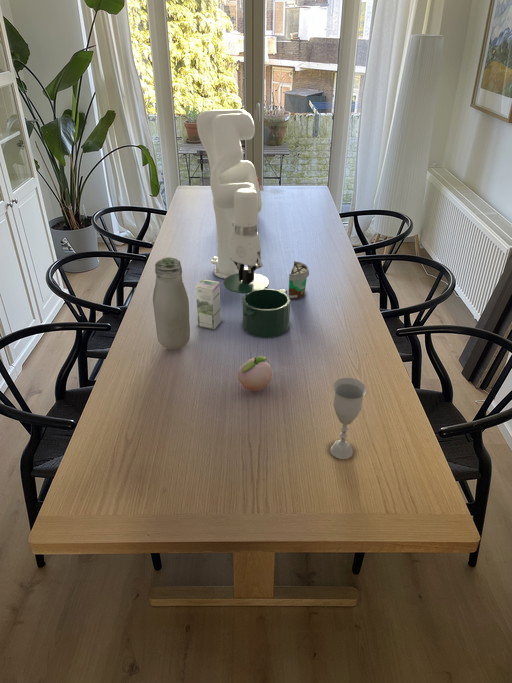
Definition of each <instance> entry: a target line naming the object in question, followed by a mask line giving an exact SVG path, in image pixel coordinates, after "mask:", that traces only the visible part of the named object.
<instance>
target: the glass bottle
mask: <svg viewBox="0 0 512 683" xmlns="http://www.w3.org/2000/svg"><path fill="white" fill-rule="evenodd" d="M182 269H183V268H182V264H181V261H180V260H179V259H177V258H176V257H172V256H171V257H170V256H166V257H162V258H160V259H158V260H157V261H156V262H155V264H154V272H155V284H154V288H153V293H152V303H153V304H152V305H153V313H154V322H155V330H156V337H157V340H158V341H157V342H158V343H159V344H160V345H161V346H162V347H163V348H164V349H166V350H173V351H174V350H179V349H182V348H184V347H186V346H187V344H188V343H189V341H190V338H191V324H190V323H191V322H190V301H189V296H188V292H187V289H186V287H185V284H184V281H183V276H182V275H183V270H182Z"/></svg>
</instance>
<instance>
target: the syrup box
mask: <svg viewBox="0 0 512 683" xmlns="http://www.w3.org/2000/svg"><path fill="white" fill-rule="evenodd" d="M220 288H221V287H220V281H217V280H210V279H201V280H199V282H198V283H197V284H196V285H195V295H196V296H195V297H196V308H197V309H196V310H197V313H196V314H197V326H198V327H200V328H205V329H210V330H215V329H216V328H217V327H218V326H219V325H220V324H221V322H222V316H221V295H220V294H221V291H220Z"/></svg>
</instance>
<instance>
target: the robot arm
mask: <svg viewBox="0 0 512 683" xmlns="http://www.w3.org/2000/svg"><path fill="white" fill-rule="evenodd" d="M196 130H197V134H198V138H199V141H200V142H201V144H202V147H203V149H204V150H205V153H206V155H207V160H208V165H209V170H210V175H209V184H210V191H211V194H212V206H213V212H214V216H215V217H214V218H215V226H216V229H215V230H216V253H217V254H216V255H217V256H213V257H212V259H211V261H210V263H211V264H212V265H215V267H214V269H213V273H214V276H216V277H218V278H220V279H224V280H225V278H227V277H228V276H230V275H233V274H237V273H239V281H242V280H243V279H242V268H243V267H245V266H247V267H248V272H247V283H248V284H249V283H251V282H253V281H254V273H255V271H256V270H258V269H261V268H263V267H264V265H263V261H262V245H261V237H260V233H259V232H258V230H259V229H258V220H259V218H258V216H259V214H260V212H262V208H263V201H262V195H261V190H260V189H259V185H258V180H257V177H258V175H257V171H256V167H255V166H254V164H253V162H251V161H250V160H244V152H243V147H242V143H241V142H242V141H249V140H252V139H253V138H254V136H255V131H256V126H255V121H254V119H253V116H252V115H251V113H249V112H247V111H246V110H244V109H240V108H232V109H209V110H205V111H202V112H200V113H199V114H198V115H197V118H196Z"/></svg>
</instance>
